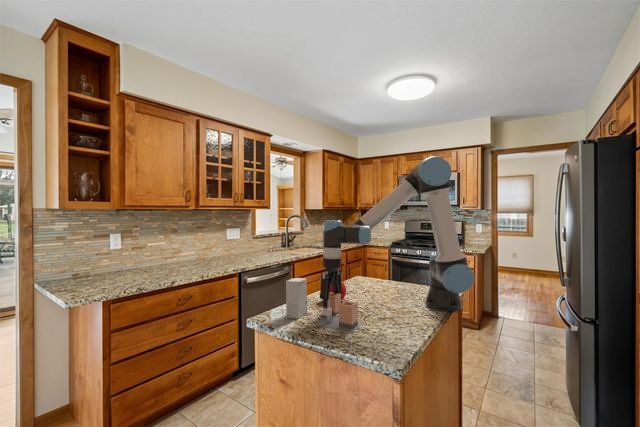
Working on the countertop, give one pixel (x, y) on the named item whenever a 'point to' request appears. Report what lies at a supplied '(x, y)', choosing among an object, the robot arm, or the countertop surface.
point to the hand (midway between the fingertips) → (331, 312)
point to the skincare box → (296, 297)
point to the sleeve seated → (348, 314)
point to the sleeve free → (335, 302)
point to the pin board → (334, 322)
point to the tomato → (340, 292)
